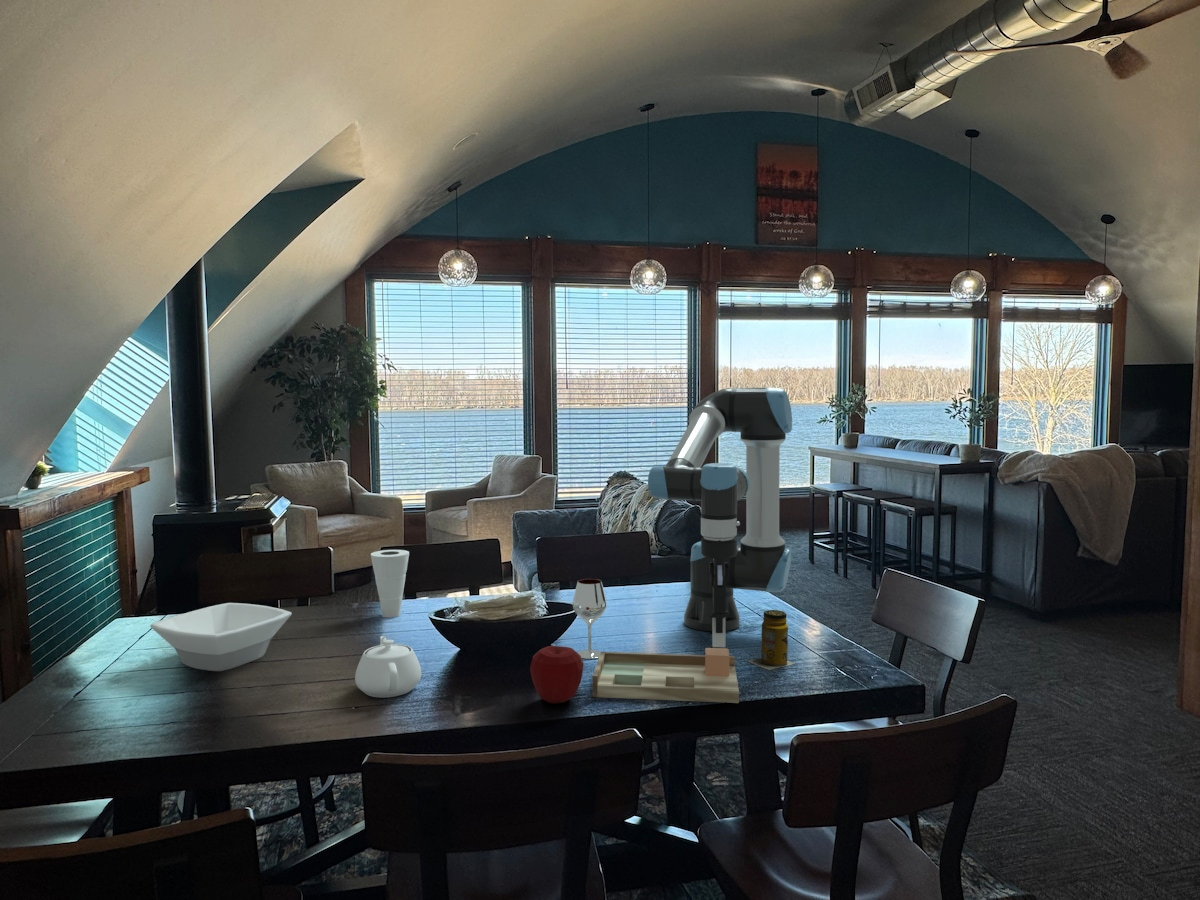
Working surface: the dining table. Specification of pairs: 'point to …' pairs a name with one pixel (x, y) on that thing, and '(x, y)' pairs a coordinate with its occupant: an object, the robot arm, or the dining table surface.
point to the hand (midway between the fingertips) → (718, 645)
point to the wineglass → (589, 608)
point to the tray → (662, 678)
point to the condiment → (773, 641)
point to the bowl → (222, 634)
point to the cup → (390, 579)
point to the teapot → (388, 670)
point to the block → (716, 662)
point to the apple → (556, 673)
